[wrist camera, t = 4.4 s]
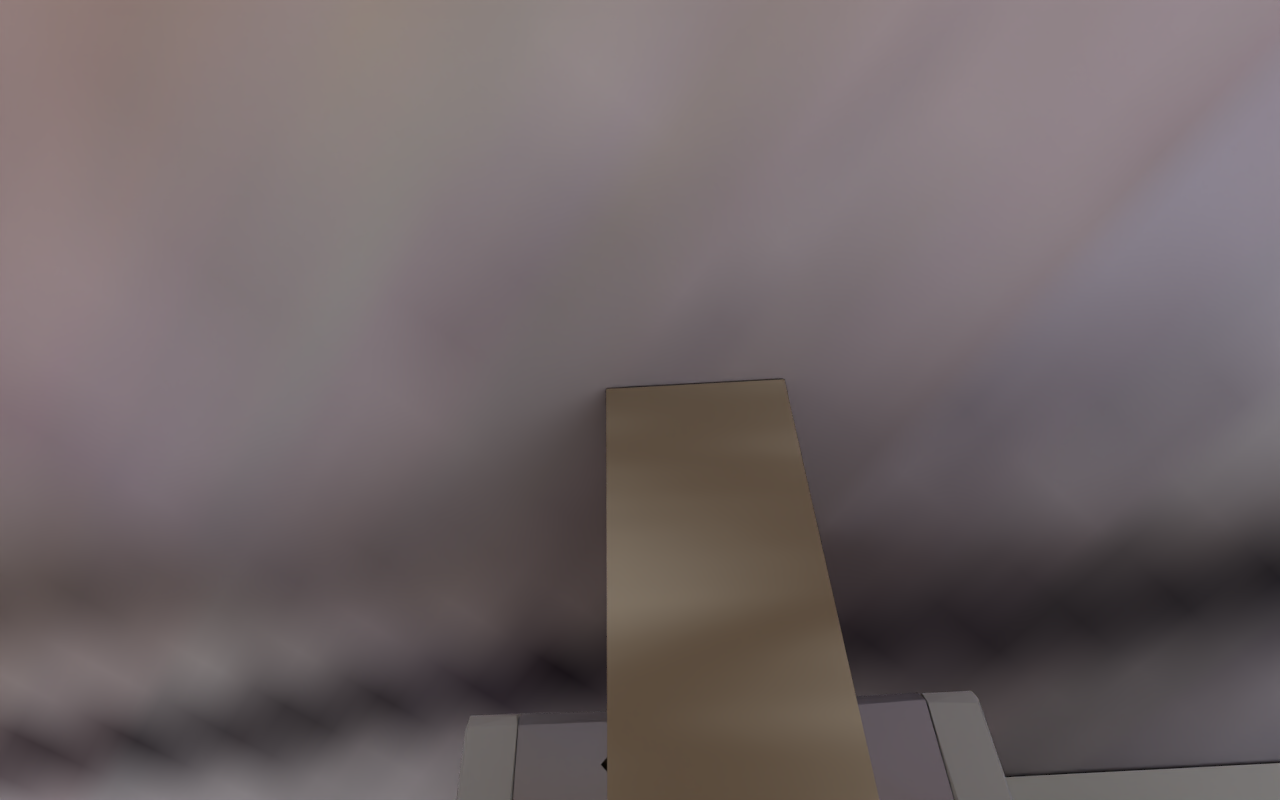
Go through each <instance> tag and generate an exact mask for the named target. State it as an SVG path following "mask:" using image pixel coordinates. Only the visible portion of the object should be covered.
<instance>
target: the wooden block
mask: <svg viewBox="0 0 1280 800" xmlns="http://www.w3.org/2000/svg"><path fill="white" fill-rule="evenodd" d="M606 514H607V800H879V796H878V791H877V787H876V783H875V778H874V774H873V769H872V765H871V761H870V756H869V752H868V747H867V743H866V738H865V734H864V730H863V725H862V721H861V716H860V712H859V707H858V703H857V699H856V694H855V690H854V685H853V681H852V676H851V672H850V668H849V663H848V659H847V654H846V650H845V646H844V641H843V637H842V632H841V628H840V623H839V619H838V615H837V610H836V606H835V601H834V597H833V592H832V588H831V584H830V579H829V575H828V570H827V566H826V561H825V557H824V553H823V548H822V544H821V539H820V535H819V530H818V526H817V522H816V517H815V513H814V508H813V504H812V500H811V495H810V491H809V486H808V482H807V477H806V473H805V469H804V464H803V460H802V455H801V451H800V446H799V442H798V438H797V433H796V429H795V424H794V420H793V415H792V411H791V407H790V402H789V398H788V393H787V389H786V385H785V380H784V379H779V380H761V381H743V382H724V383H706V384H687V385H669V386H651V387H632V388H614V389H606Z"/></svg>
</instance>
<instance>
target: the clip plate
mask: <svg viewBox="0 0 1280 800" xmlns="http://www.w3.org/2000/svg"><path fill="white" fill-rule="evenodd" d="M1005 778H1006V781H1007V784H1008V787H1009V789H1010V792H1011V795H1012V798H1013V800H1280V763H1272V764H1253V765H1233V766H1214V767H1194V768H1175V769H1156V770H1136V771H1117V772H1097V773H1078V774H1059V775H1039V776H1020V777H1005Z"/></svg>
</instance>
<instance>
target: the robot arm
mask: <svg viewBox="0 0 1280 800" xmlns="http://www.w3.org/2000/svg"><path fill="white" fill-rule="evenodd" d="M856 699H857V703H858V707H859V712H860V716H861V721H862V725H863V730H864V734H865V738H866V743H867V747H868V752H869V756H870V761H871V765H872V769H873V774H874V778H875V783H876V787H877V791H878V796H879V800H1013V798H1012V795H1011V792H1010V789H1009V787H1008V784H1007V781H1006V778H1005V775H1004V772H1003V769H1002V766H1001V763H1000V760H999V757H998V754H997V751H996V748H995V745H994V742H993V739H992V737H991V734H990V731H989V728H988V725H987V722H986V719H985V716H984V713H983V710H982V707H981V704H980V701H979V699H978V697H977V696H976V695H975V694H974V693H973V692H972V691H955V692H936V693H922V694H919V693H902V694H887V695H872V696H856ZM456 800H607V711H598V712H559V713H521V714H501V715H475V716H470V718H469V721H468V724H467V726H466V729H465V735H464V743H463V751H462V759H461V767H460V775H459V783H458V791H457V799H456Z"/></svg>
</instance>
